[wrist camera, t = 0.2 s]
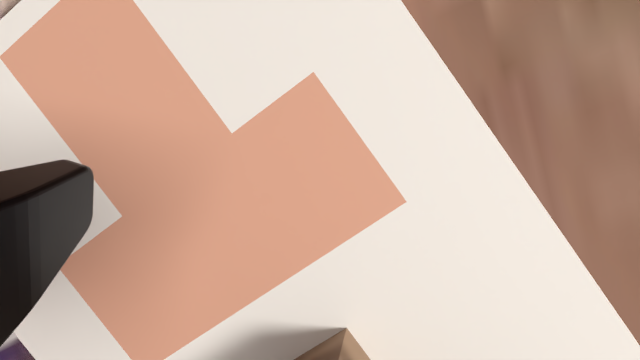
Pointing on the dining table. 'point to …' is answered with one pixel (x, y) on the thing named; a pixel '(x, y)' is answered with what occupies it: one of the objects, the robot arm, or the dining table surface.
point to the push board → (282, 190)
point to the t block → (336, 349)
